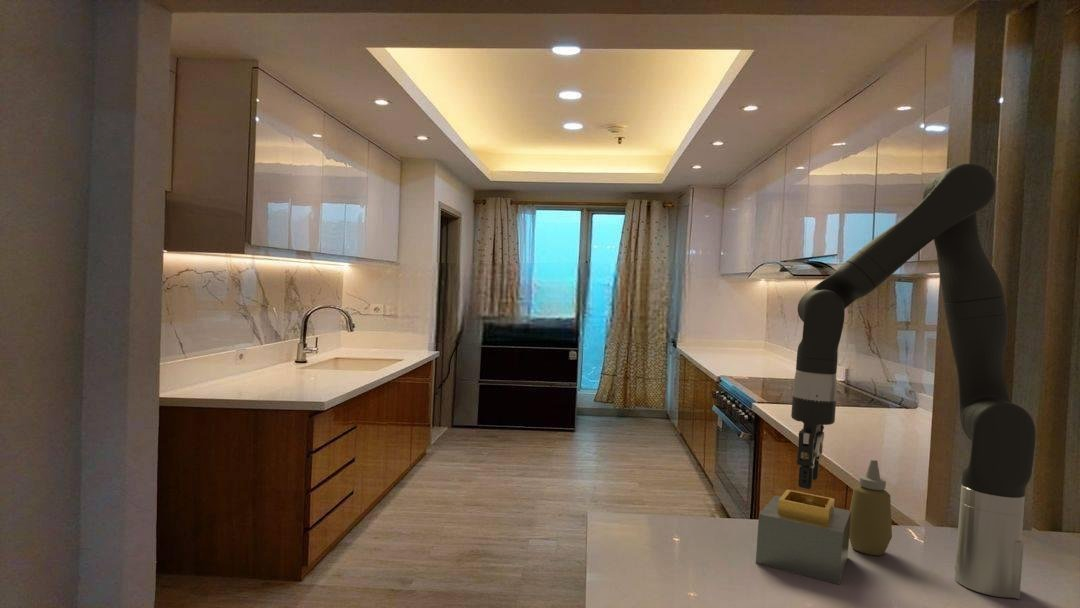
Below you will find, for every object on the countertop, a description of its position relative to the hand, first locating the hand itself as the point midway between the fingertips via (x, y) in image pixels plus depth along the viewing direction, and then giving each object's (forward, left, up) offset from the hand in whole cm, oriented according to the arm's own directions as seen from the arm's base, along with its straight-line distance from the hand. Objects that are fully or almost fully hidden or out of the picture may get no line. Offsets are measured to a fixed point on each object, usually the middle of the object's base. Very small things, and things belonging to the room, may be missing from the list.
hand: (808, 483), depth 120 cm
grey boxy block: (0, 0, -15) cm, 15 cm away
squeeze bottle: (-10, -14, -15) cm, 23 cm away
